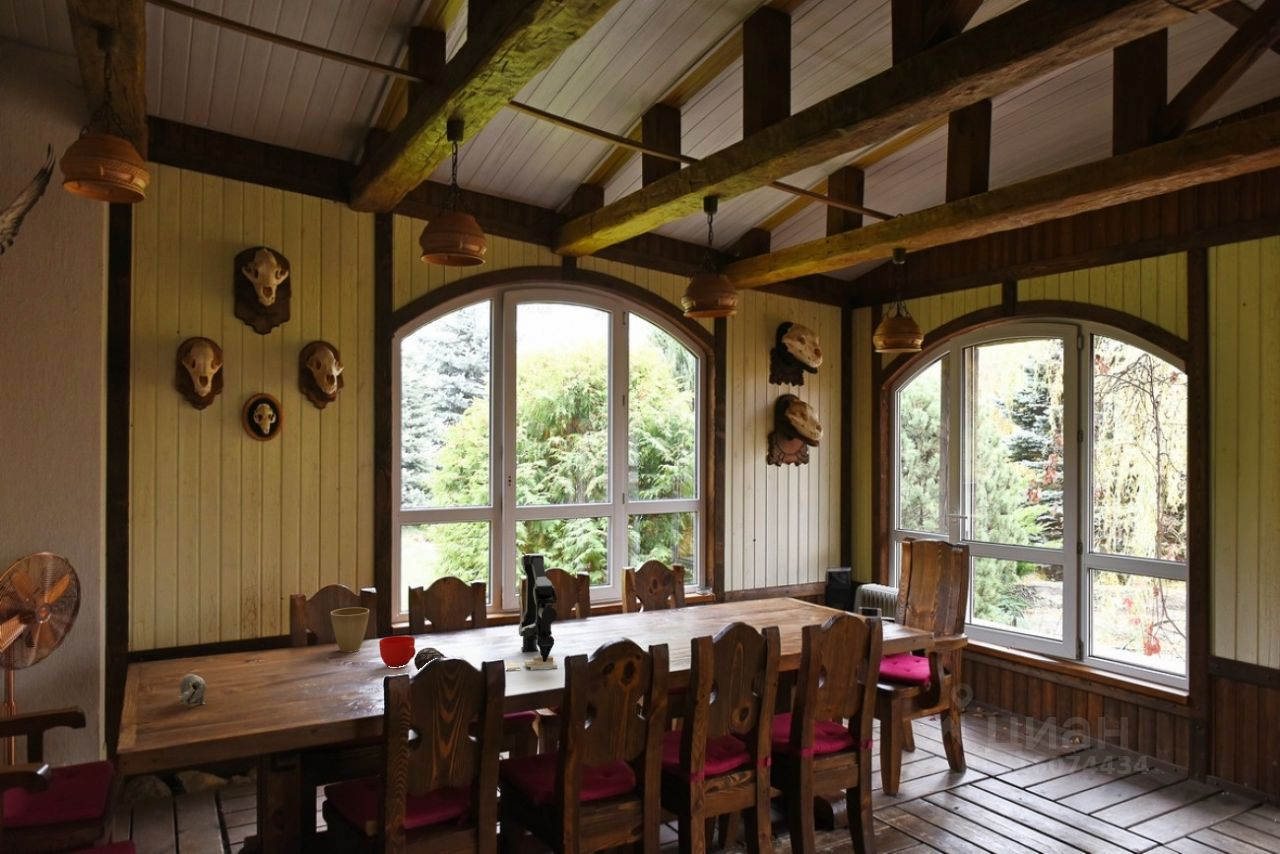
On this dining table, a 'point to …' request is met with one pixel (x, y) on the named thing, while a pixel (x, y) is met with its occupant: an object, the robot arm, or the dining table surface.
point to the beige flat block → (538, 661)
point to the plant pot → (349, 627)
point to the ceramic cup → (397, 650)
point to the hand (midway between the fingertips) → (543, 658)
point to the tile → (512, 666)
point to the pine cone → (426, 656)
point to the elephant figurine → (192, 689)
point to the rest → (545, 666)
